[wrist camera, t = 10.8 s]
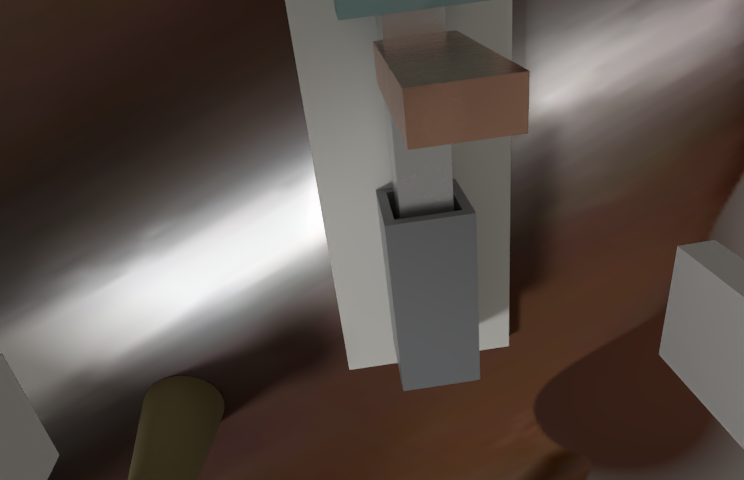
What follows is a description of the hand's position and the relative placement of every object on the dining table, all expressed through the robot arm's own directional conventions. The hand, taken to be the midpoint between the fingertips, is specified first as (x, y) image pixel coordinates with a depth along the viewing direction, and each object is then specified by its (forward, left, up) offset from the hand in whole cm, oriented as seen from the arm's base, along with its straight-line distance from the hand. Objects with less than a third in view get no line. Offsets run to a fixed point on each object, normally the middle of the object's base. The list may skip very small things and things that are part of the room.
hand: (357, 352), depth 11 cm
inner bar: (-1, -4, -21) cm, 22 cm away
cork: (-22, +15, -24) cm, 35 cm away
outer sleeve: (-12, -4, -23) cm, 27 cm away
